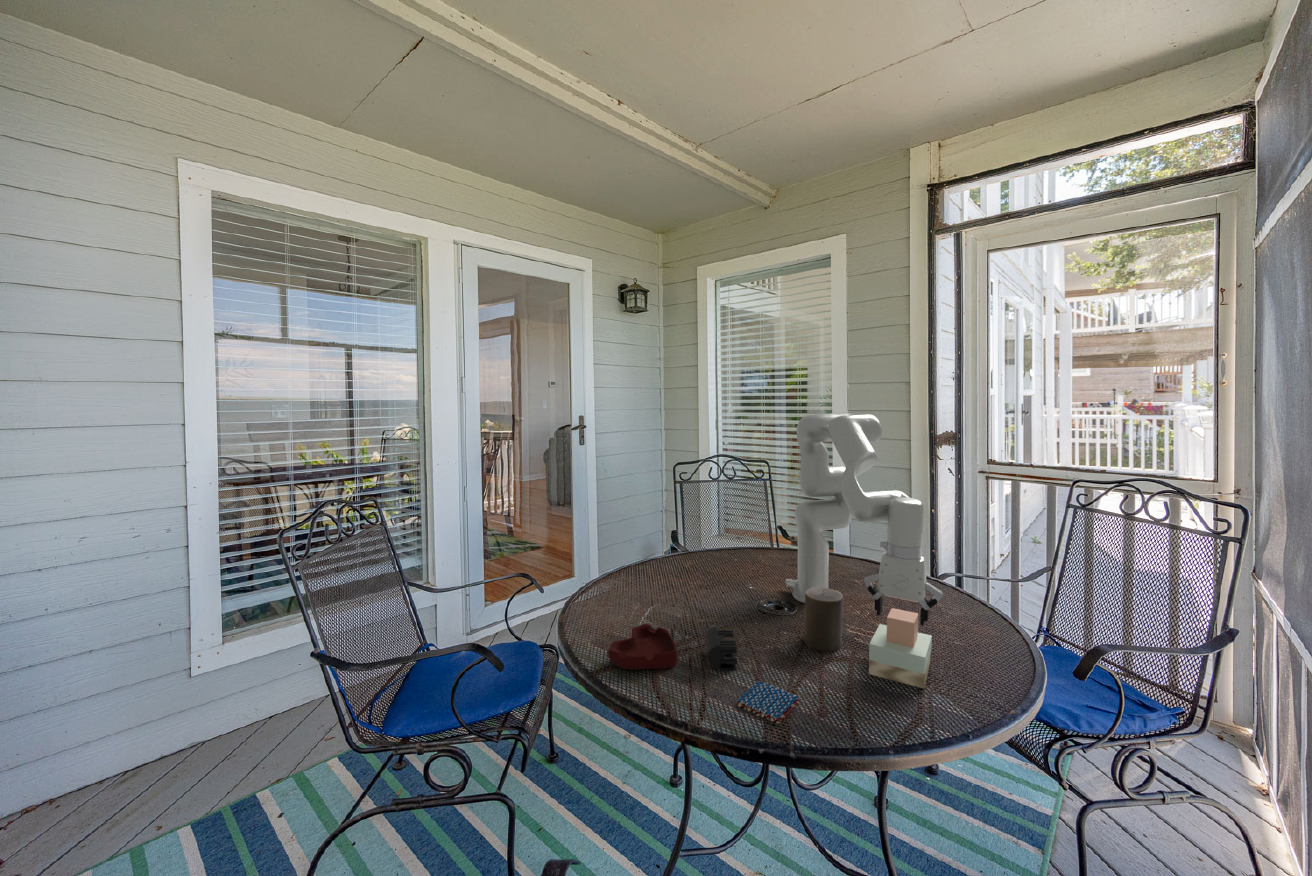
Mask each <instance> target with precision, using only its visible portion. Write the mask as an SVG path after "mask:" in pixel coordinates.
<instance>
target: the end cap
mask: <svg viewBox="0 0 1312 876" xmlns="http://www.w3.org/2000/svg"><path fill="white" fill-rule="evenodd" d="M734 636H735V634H734V630H732V629H731V630H730V629H729V630H727V629H725V630H718V627H717V626H714V627H711V628H709V629H708V630H707V631H706V633H705V637H704V641H705V646H706V654H707V659H708V662H709V664H710V665H711V666H712V668H713V667H714V668H715V669H716V670H718V671H736V670H738V669H737V665H738V658H737V657H735V654H736V655H737V654H738V646H737V643H736V640H727V639H725V638H728V637H729V638H730V637H734Z"/></svg>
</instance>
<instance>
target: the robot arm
mask: <svg viewBox="0 0 1312 876" xmlns="http://www.w3.org/2000/svg"><path fill="white" fill-rule="evenodd" d="M882 427H883V426H882V425H881V422H880V420H879V419H878V418H877V417H876V416H875V415H873V414H870V413H854V412H842V413H841V412H840V413H815V414H809V415H806V416H805V415H804V416H803V417H801V419H800V420H798V423H797V427H796V439H797V443H798V447H799V452H800V463H799V465H800V468H799V469H800V475H799V476H800V478H799V479H800V480H799V481H800V482H799V484H800V489H801V493H802V494H803V495H804V496H806V497H810V498H820V497H823V498H824V497H831V499H817V500H815V499H814V500H806V501H803V502H801V503H799V504H798V505H797V506H796V508H795V511H794V518H795V524H796V531H797V579H795V580H793V579H790V578H786V579H785V582H784V583H785V585H786V588H792V589H793V590H792V597H793V598H794V599H795V600H796V601H798V602H800V603H803V604H805V592H806V590H808V589H810V588H818V587H819V588H820V587H821V588H829V562H830V557H829V556H830V552H829V551H830V547H829V546H830V545H829V542H828V540H827V538H826V537H825V536H824V534H823V531H829V530H830V531H831V530H832V531H833V530H840V529H841V530H842V529H845V528H847V527H848V526H849V525H850V523H851V521H852V517H854V519H855V520H857V521H859V522H861V523H865V524H867V523H875V522H876V523H878V522H887V529H886V531H887V532H886V533H887V535H886V541H880V543H879V545H880V546H879V547H880V548H883V549H885V551H883V553H882V555H881V559H880V564H879V571H878V572H879V573H876V574H872V575H869V576H865V577H864V578H863V583H864V585H865V586H866V588H867V591H868V592H869V593H870V594H871V596H872V597H873V599H874V611H876V616H881V614H882V613H883V602H884V601H883V600H884V599H883V596H886V597H889V598H895V599H899V600H904V601H909V602H914V603H919V604H920V605H921V607H920V608H921V609H920V617H919V618H920V619H919V625H920V626H924V625H925V622H926V623H927V622H928V621H929V610H930V609H931V608H933V607H934V606H936V605H937V604H938V603H939V601H940V600H941V599H942V597H943V596H944V592H943V591H942V590H940V589H939V588H937V587H935V586H934V585H932V584H930V583H929V582H928V581H927V568H926V561H925V557H924V556H922V551H923V550H922V549H923V532H924V531H923V529H924V511H925V510H924V509H925V507H924V504H923V502H922V501H920V499H917V498H913V497H910V496H908V495H907V494H906V493H905V492H903V491H900V490H896V489H890V490H875V491H872V490H871V491H863V489H862V487H861V485H860V484H859V482H858V478H857V477H859V476H860V475H862V474H864V473H866V472H868V471H869V470H870V469H871V468H873V467H874V466H875V464H876V463H877V461H878V454H877V452H876V451H875V449H874V447H873V445H872V444H875V443H878V442H879V441H880V439H881V438H882V436H883V428H882ZM823 442H824V443H828V442H832V444H833V445H834V447H835V449H836V450H837V453H838V455H839V457H840V458H841V461H842V462H843V464H844V466H842V465H830V464H829V462H830V454H829V450H828V448H827V447H826V445H825V444H824V443H823ZM873 582H877V588H876V587H875V586H874V585H873ZM927 591H928V592H930V593H931V594H932V595H933V597H932V598H930V599H928V597H927V596H926V592H927Z"/></svg>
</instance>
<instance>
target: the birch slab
mask: <svg viewBox="0 0 1312 876" xmlns="http://www.w3.org/2000/svg"><path fill="white" fill-rule="evenodd" d="M929 665H931V656H930V657H929V661H928V664H927V668H926V671H925V674H922V673H918V672H914V671H910V670H907V669H903V668H899V667H895V666H891V665H887V664H884V663H880V662H876V661H872V660H869V659H868V675H872V676H874V677H879V678H884V679H887V680H890V681H894V682H898V683H901V684H902V683H903V684H906V685H909V686H913V687H916V686H917V687H916V688H920V689H925V687H926V682H927V678H928V674H929V669H930V666H929Z"/></svg>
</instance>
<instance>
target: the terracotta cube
mask: <svg viewBox="0 0 1312 876" xmlns="http://www.w3.org/2000/svg"><path fill="white" fill-rule="evenodd" d="M886 616H887V617H886V625H887V636H886V641H888V642H893V643H897V644H901V645H905V646H909V647H914V645H915V643H916V640H917V637H918V633H919V613H917V612H912V611H908V610H903V609H898V608H894V607H891V609H890V610H889V613H888V615H886Z"/></svg>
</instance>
